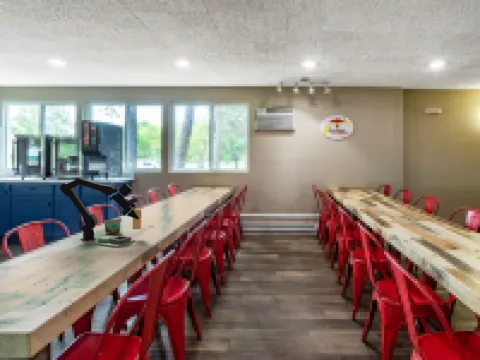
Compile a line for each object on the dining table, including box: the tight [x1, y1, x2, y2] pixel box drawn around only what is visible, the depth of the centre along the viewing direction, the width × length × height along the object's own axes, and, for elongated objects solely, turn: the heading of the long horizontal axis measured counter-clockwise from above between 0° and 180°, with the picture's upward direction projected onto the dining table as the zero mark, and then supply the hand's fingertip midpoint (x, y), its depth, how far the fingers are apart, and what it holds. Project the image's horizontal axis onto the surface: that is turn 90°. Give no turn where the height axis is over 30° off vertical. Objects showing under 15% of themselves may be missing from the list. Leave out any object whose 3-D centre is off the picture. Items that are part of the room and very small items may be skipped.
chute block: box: [132, 208, 142, 230], centre depth 204 cm, size 5×5×12 cm
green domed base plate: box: [89, 235, 135, 248], centre depth 193 cm, size 20×15×4 cm
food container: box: [103, 217, 122, 236], centre depth 216 cm, size 12×6×10 cm, turn 143°
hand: (139, 218), depth 204 cm, fingers closed on chute block, 5 cm apart
